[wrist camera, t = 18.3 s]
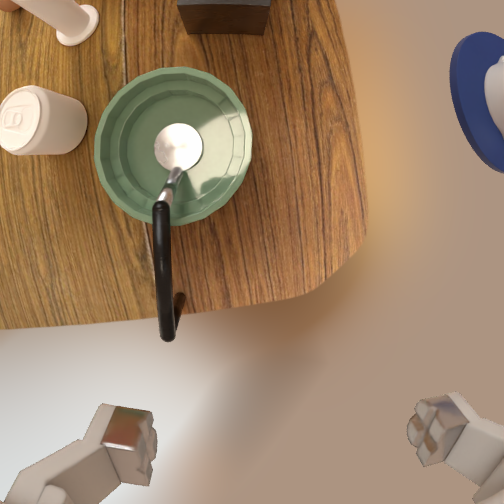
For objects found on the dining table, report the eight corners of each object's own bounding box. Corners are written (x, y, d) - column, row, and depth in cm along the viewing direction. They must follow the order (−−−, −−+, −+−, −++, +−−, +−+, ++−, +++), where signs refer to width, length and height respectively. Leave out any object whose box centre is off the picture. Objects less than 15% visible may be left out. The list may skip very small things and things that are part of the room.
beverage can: (83, 157, 38) (35, 158, 26) (38, 151, 37) (-13, 152, 25) (95, 99, 36) (51, 82, 24) (50, 97, 35) (0, 84, 23)
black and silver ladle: (156, 124, 36) (129, 117, 26) (204, 123, 37) (192, 114, 27) (160, 300, 44) (141, 343, 34) (202, 302, 44) (193, 346, 34)
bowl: (252, 82, 37) (255, 67, 30) (246, 217, 41) (248, 227, 35) (119, 86, 36) (99, 74, 29) (115, 215, 40) (95, 225, 34)
